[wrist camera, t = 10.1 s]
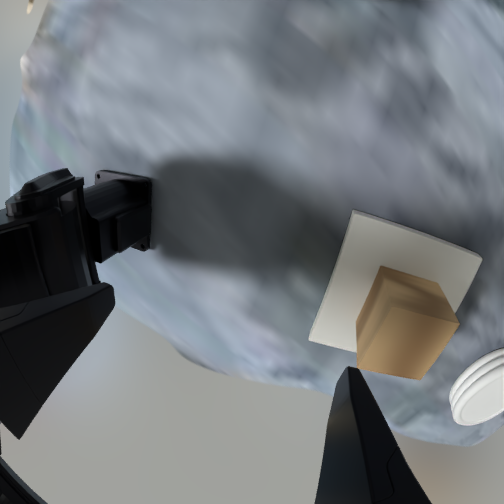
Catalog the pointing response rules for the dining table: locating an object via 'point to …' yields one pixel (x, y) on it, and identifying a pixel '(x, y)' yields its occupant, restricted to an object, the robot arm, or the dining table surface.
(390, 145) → the dining table surface
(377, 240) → the white board
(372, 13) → the dining table surface
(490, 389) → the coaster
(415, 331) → the oak cube
